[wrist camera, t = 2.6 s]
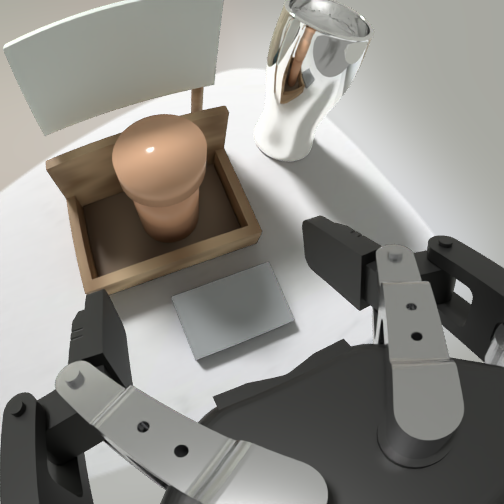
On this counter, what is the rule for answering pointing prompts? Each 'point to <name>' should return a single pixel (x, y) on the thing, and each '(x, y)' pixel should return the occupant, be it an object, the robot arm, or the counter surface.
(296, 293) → the counter surface
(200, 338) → the tile
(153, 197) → the peach mushroom shaped stopper
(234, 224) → the open wooden box
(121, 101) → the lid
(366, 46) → the beer glass
